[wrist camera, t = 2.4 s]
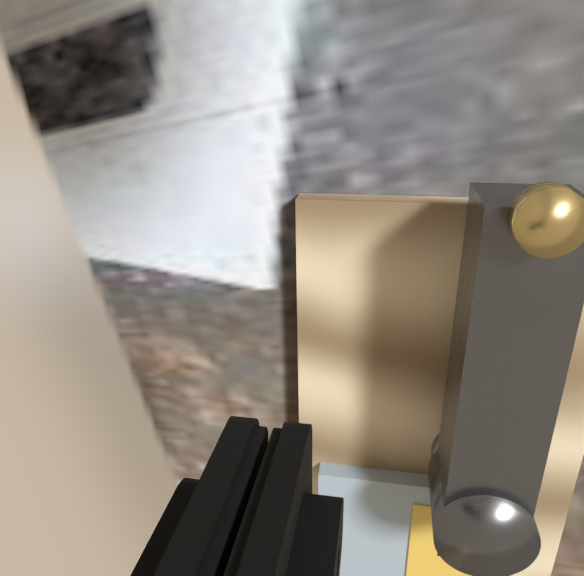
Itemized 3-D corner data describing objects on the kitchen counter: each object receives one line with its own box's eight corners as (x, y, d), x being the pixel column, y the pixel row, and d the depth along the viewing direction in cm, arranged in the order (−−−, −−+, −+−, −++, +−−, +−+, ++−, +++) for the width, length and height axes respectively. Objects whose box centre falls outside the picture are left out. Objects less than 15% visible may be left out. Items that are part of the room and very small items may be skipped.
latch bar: (511, 510, 21) (534, 598, 18) (424, 499, 22) (429, 582, 19) (585, 162, 16) (640, 190, 12) (463, 160, 16) (482, 187, 13)
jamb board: (299, 192, 20) (295, 199, 19) (637, 201, 18) (650, 208, 17) (305, 612, 30) (302, 629, 29) (520, 649, 28) (525, 668, 27)
